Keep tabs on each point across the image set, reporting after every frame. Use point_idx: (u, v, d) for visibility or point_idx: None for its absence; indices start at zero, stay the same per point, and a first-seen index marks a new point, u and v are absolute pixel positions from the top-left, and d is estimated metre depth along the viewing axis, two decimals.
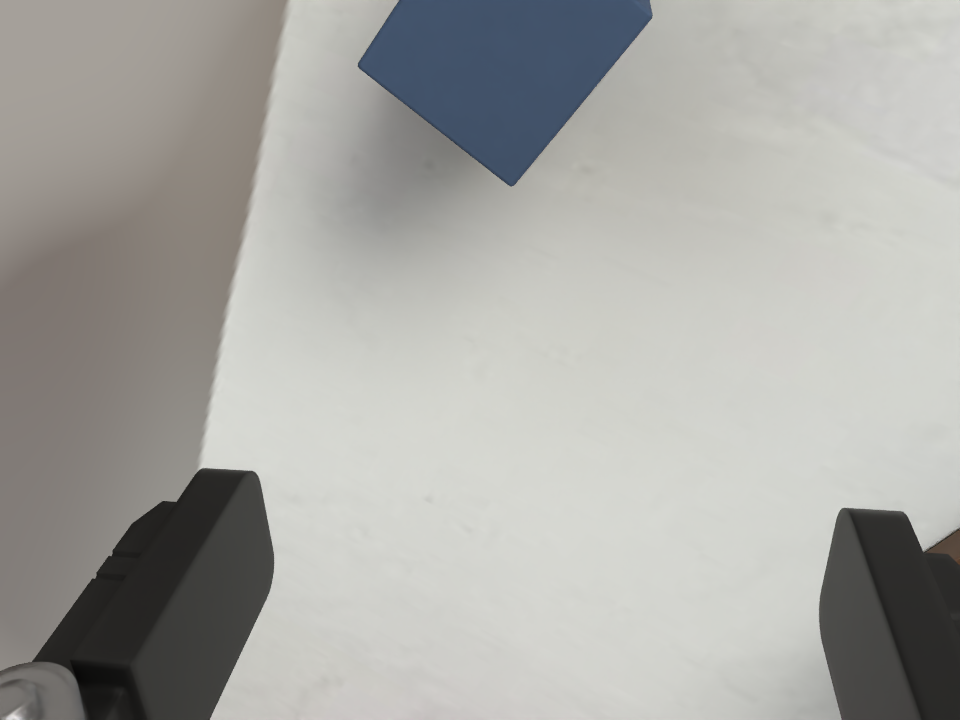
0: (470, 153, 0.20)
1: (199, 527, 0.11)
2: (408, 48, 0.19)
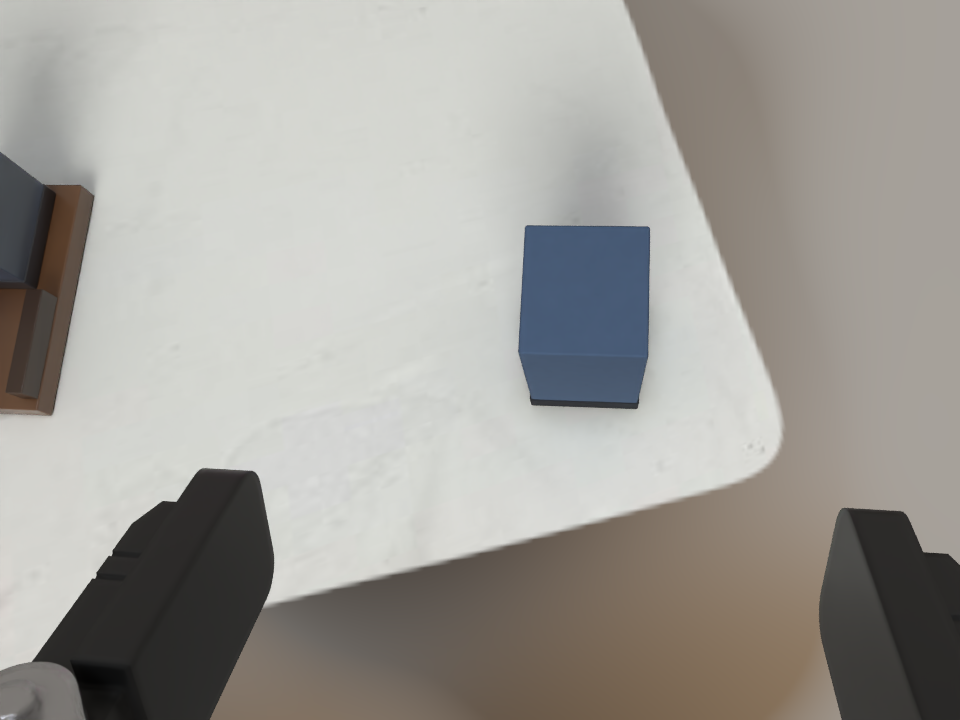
0: (560, 226, 0.32)
1: (199, 527, 0.11)
2: (629, 253, 0.31)
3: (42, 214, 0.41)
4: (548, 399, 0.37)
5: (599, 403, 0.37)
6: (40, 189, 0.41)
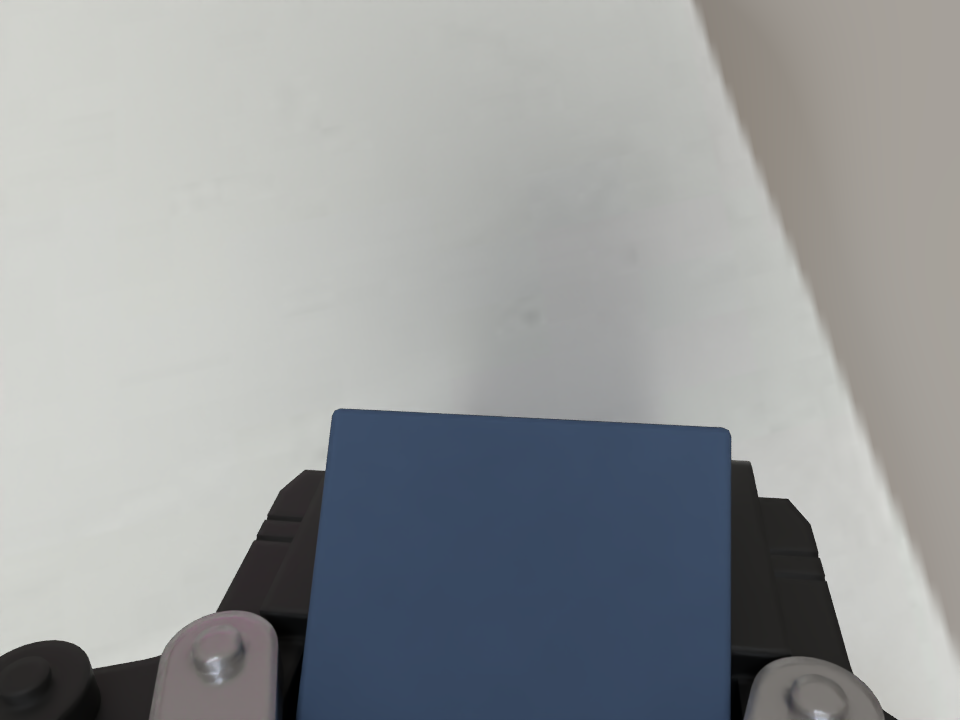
0: (439, 417, 0.10)
1: None
2: (661, 522, 0.09)
3: None
4: None
5: None
6: None
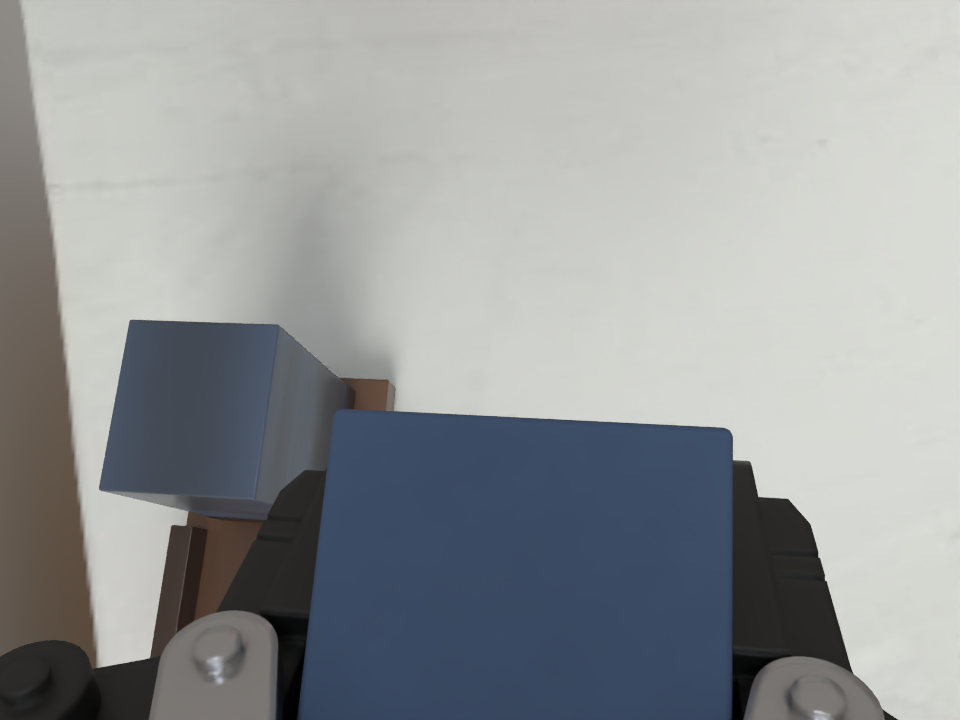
0: (440, 417, 0.10)
1: None
2: (663, 522, 0.09)
3: None
4: None
5: None
6: (345, 393, 0.31)
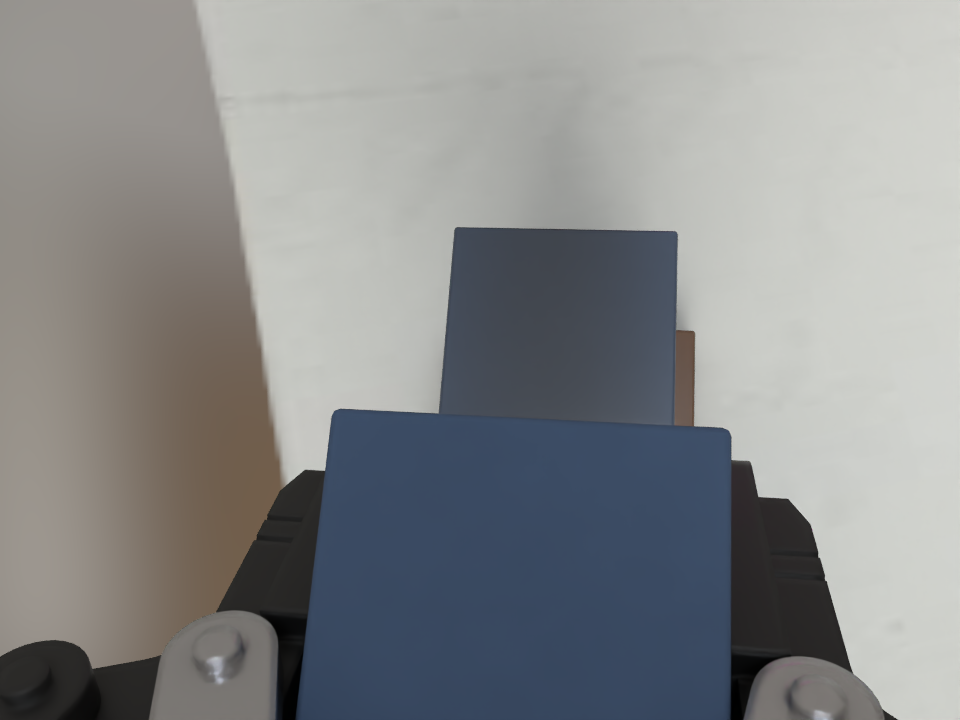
0: (439, 418, 0.10)
1: None
2: (662, 522, 0.09)
3: None
4: None
5: None
6: None
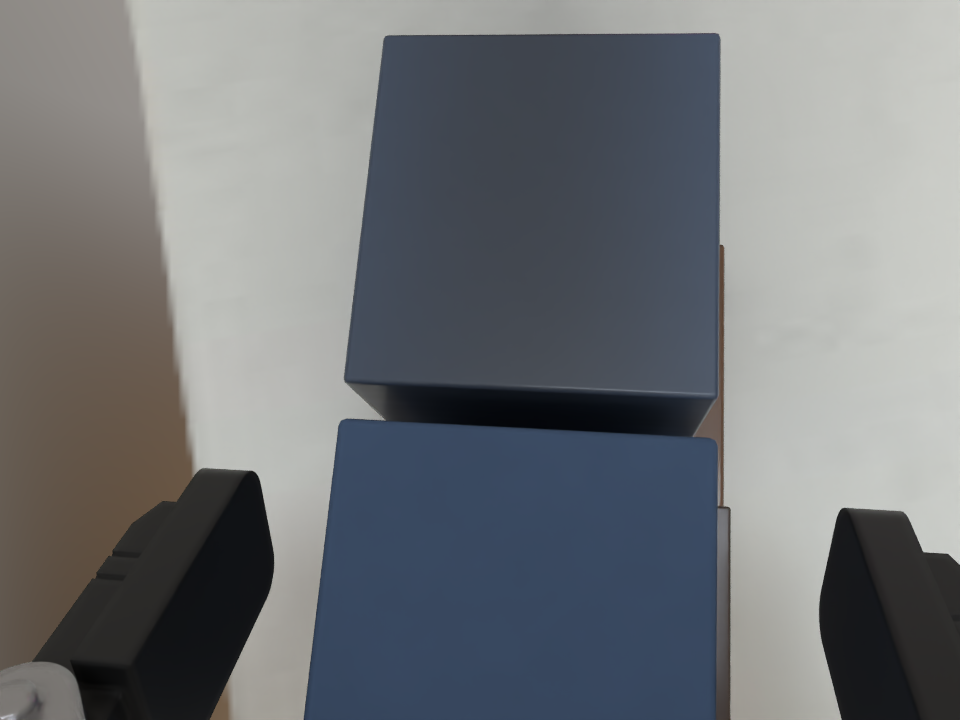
0: (440, 427, 0.10)
1: (199, 527, 0.11)
2: (651, 527, 0.10)
3: None
4: None
5: None
6: None
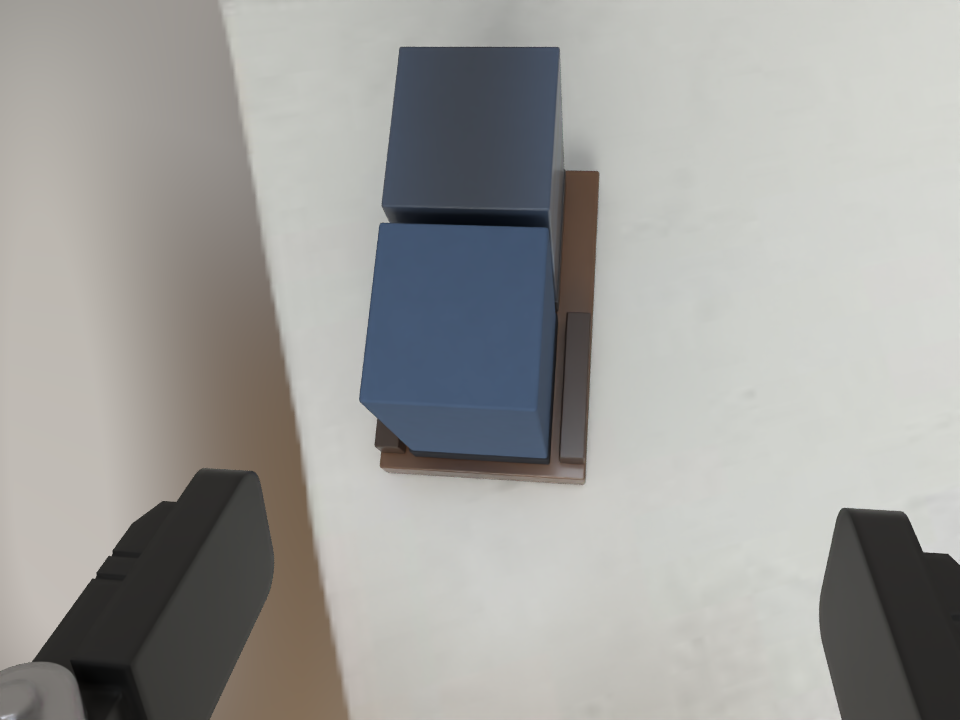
0: (425, 225, 0.23)
1: (199, 527, 0.11)
2: (517, 263, 0.22)
3: (563, 209, 0.30)
4: (432, 451, 0.28)
5: (498, 457, 0.28)
6: (564, 175, 0.30)
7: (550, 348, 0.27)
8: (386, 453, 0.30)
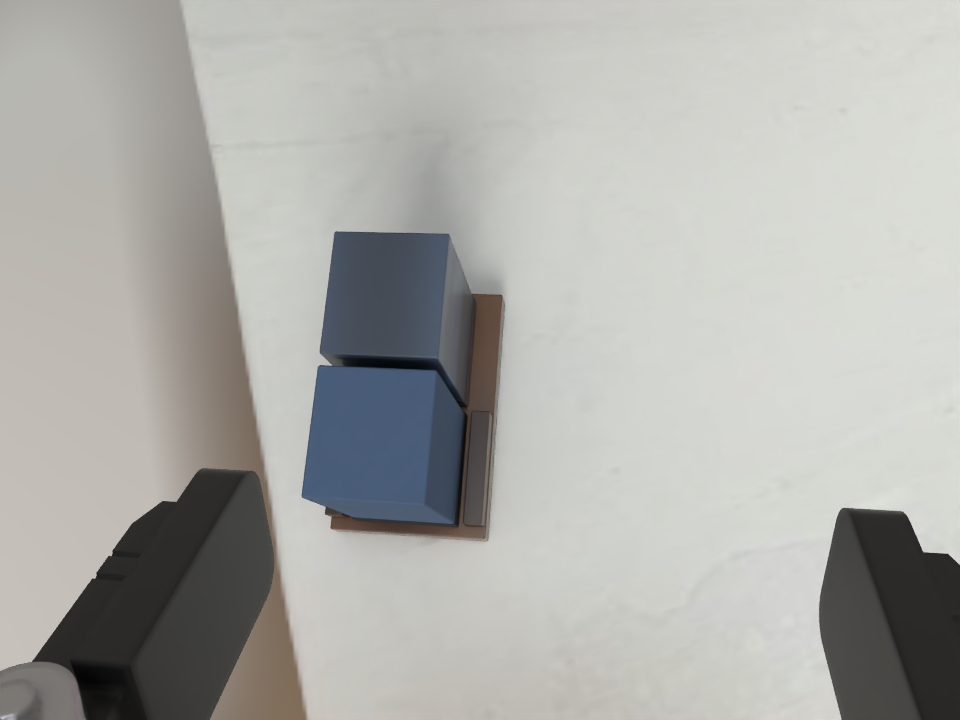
0: (350, 367, 0.32)
1: (199, 527, 0.11)
2: (414, 397, 0.31)
3: (472, 328, 0.40)
4: (368, 518, 0.37)
5: (418, 523, 0.37)
6: (472, 302, 0.39)
7: (452, 444, 0.36)
8: (335, 518, 0.39)
